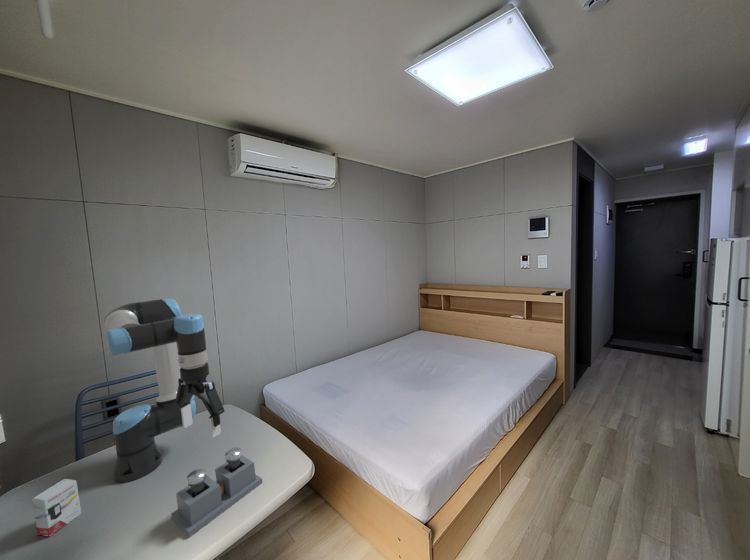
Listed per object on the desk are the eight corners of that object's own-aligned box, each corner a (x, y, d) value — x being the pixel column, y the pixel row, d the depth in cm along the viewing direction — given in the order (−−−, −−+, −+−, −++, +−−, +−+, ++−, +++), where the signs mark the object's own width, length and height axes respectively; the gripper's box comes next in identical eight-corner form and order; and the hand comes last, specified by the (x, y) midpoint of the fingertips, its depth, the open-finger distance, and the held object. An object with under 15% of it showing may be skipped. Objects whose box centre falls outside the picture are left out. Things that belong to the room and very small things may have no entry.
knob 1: (187, 500, 94) (184, 476, 93) (203, 489, 98) (200, 466, 97) (194, 507, 91) (191, 482, 90) (211, 495, 95) (208, 472, 94)
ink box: (49, 537, 89) (42, 501, 88) (37, 535, 90) (30, 499, 89) (82, 513, 97) (76, 479, 96) (70, 511, 98) (65, 477, 97)
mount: (171, 518, 93) (168, 494, 92) (243, 470, 113) (241, 450, 112) (189, 537, 86) (186, 512, 86) (262, 482, 106) (260, 461, 105)
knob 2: (224, 475, 103) (222, 453, 103) (238, 466, 107) (236, 445, 107) (232, 481, 100) (230, 459, 100) (246, 472, 104) (243, 450, 104)
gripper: (157, 364, 94) (165, 428, 96) (209, 375, 83) (217, 447, 85) (181, 356, 100) (188, 416, 103) (232, 365, 90) (239, 432, 92)
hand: (201, 430), depth 94 cm, fingers open, 13 cm apart
